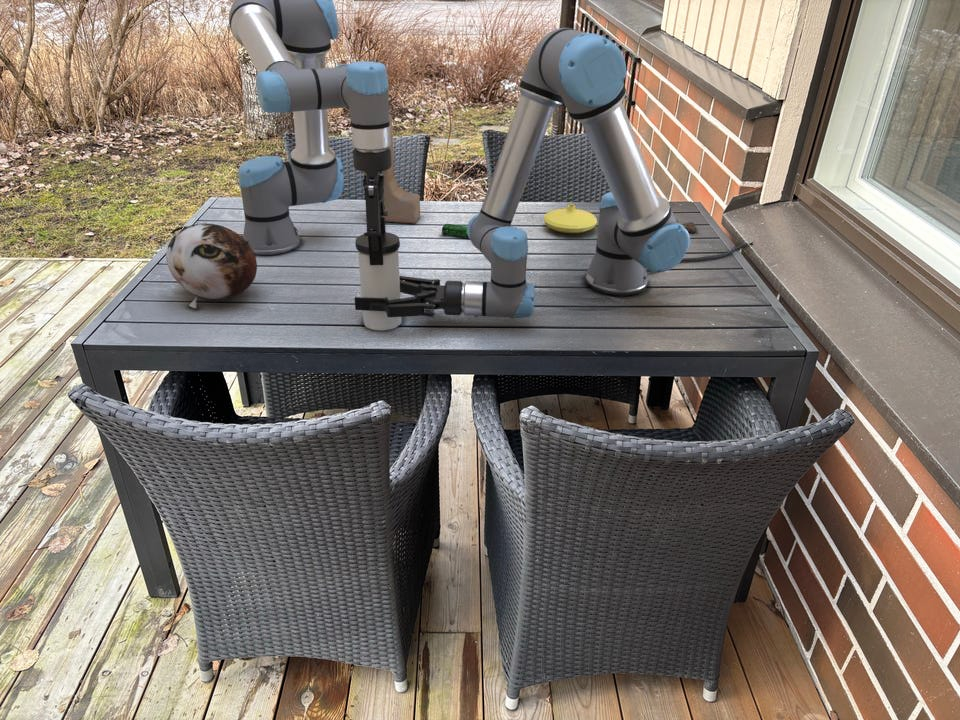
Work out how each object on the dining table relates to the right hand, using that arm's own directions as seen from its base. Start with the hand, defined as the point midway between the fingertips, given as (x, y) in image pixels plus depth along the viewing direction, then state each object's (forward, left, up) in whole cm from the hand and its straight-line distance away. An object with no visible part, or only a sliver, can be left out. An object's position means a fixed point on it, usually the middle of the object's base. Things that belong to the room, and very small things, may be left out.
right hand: (359, 294), depth 156 cm
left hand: (-4, +2, +9) cm, 10 cm away
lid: (-4, +2, +13) cm, 13 cm away
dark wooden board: (-94, -27, -6) cm, 98 cm away
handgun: (-44, -43, -6) cm, 62 cm away
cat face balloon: (+29, -24, -6) cm, 38 cm away
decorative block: (-25, -62, -6) cm, 67 cm away
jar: (-4, +2, -6) cm, 8 cm away
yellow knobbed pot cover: (-71, -36, -6) cm, 80 cm away
